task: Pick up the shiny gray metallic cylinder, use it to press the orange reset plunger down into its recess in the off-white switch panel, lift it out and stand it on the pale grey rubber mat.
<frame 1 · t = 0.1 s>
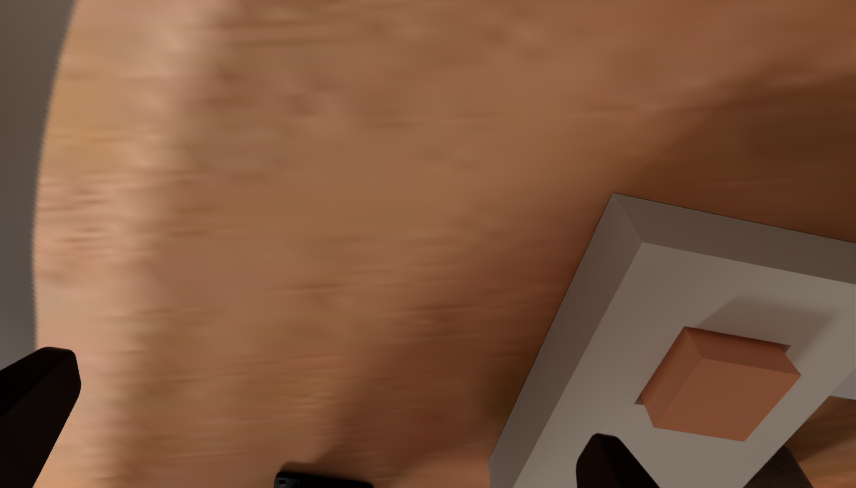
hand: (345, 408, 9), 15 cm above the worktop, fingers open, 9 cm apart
shiny gray metallic cylinder: (761, 462, 34), on the worktop
switch panel: (641, 370, 29), on the worktop
reset plunger: (704, 367, 24), point 4 cm above the worktop, slide at 0.0 cm
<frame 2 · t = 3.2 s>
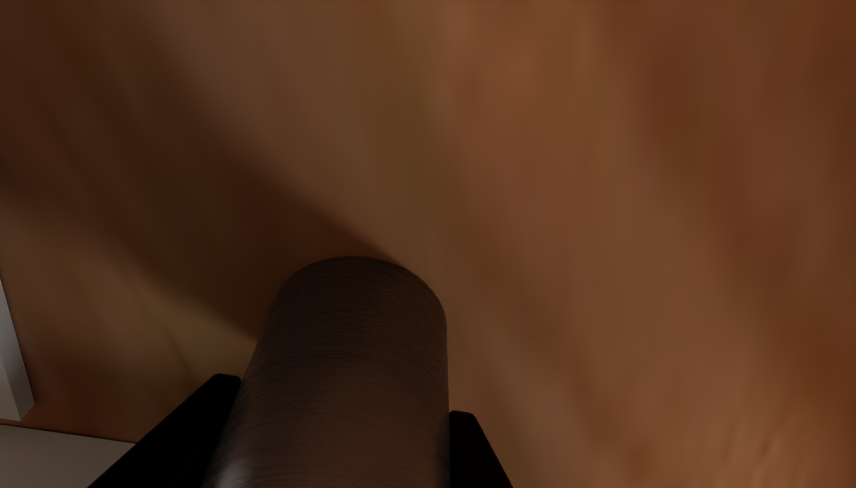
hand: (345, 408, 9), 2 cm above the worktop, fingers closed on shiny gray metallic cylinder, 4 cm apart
shiny gray metallic cylinder: (359, 328, 11), on the worktop, touching gripper
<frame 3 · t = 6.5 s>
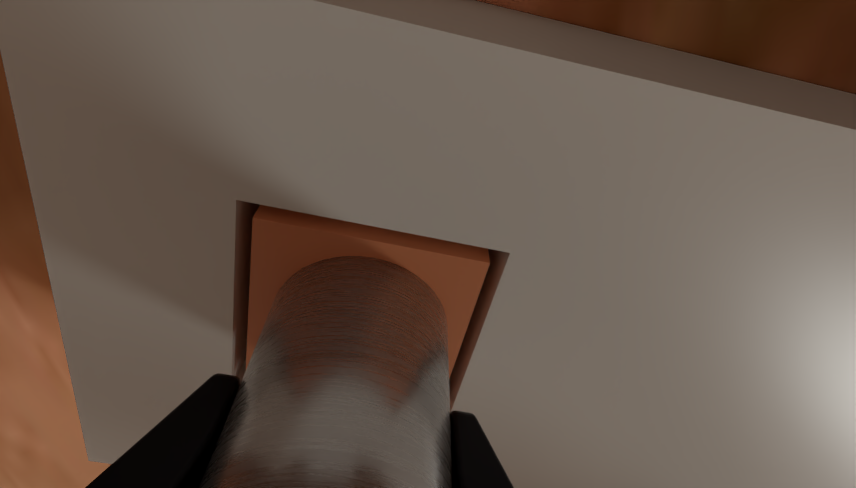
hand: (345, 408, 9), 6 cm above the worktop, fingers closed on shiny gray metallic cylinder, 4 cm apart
shiny gray metallic cylinder: (359, 327, 11), point 4 cm above the worktop, touching gripper, reset plunger
switch panel: (517, 254, 15), on the worktop
reset plunger: (367, 271, 12), point 2 cm above the worktop, slide at 1.5 cm, touching shiny gray metallic cylinder
when the fingers open (3 cm above the worktop, at t = 10.0 s): shiny gray metallic cylinder drops 1 cm, resting on rubber mat.
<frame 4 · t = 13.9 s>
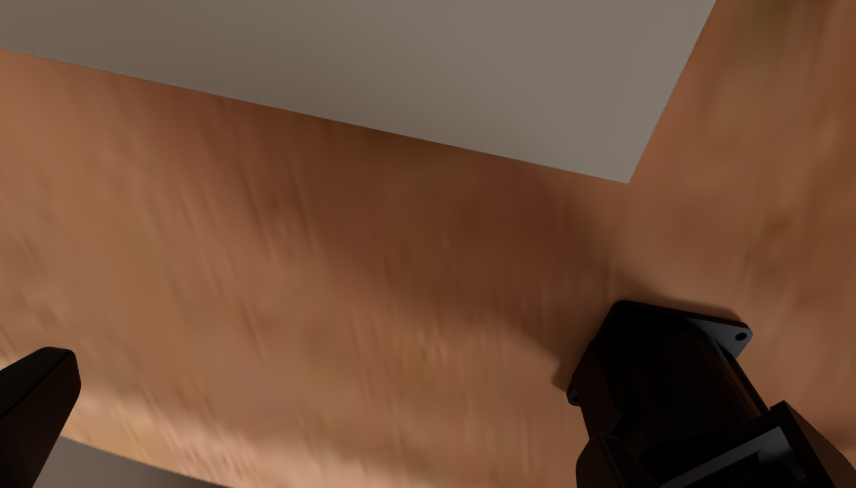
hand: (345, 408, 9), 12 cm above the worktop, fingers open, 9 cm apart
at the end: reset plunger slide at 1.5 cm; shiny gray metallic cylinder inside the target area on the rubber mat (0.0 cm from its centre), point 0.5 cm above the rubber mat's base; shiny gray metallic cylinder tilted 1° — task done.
